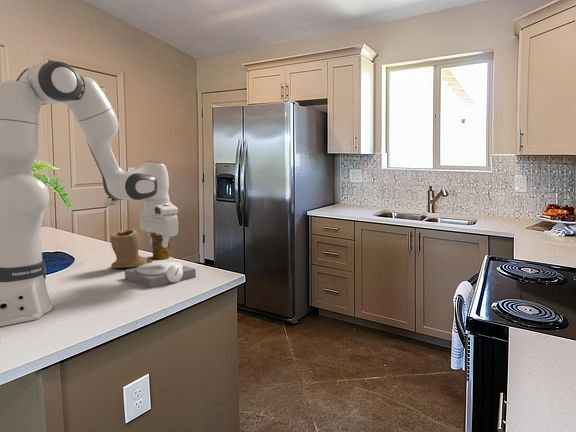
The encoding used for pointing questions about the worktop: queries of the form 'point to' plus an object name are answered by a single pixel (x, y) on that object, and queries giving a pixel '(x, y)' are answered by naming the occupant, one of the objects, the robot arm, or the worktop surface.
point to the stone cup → (127, 249)
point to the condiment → (159, 249)
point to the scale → (159, 273)
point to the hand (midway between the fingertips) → (159, 245)
